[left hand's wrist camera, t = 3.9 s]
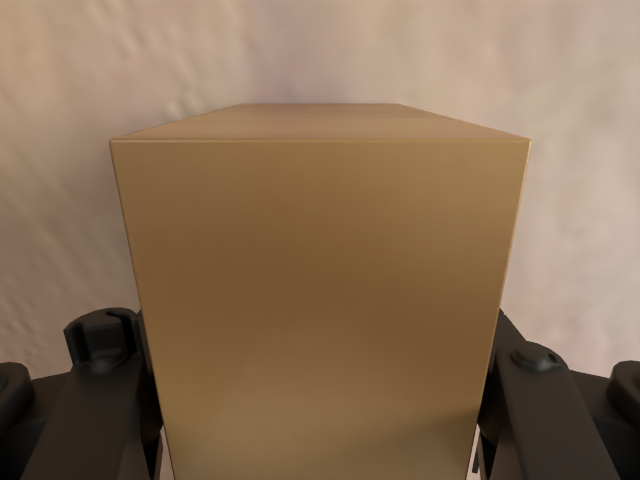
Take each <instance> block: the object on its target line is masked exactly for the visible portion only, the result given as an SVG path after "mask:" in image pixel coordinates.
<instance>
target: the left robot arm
mask: <svg viewBox="0 0 640 480" xmlns="http://www.w3.org/2000/svg"><path fill="white" fill-rule="evenodd" d="M63 331H64V335H65V338H66V342H67V345H68V349H69V352H70V356H71V359H72V363H73V367H72V369H71V371H70V372H67V373H63V374H58V375H53V376H48V377H43V378H38V379H33V380H31V378H30V375H29V372H28V369H27V368H26V367H25V366H24V365H22V364H21V363H13V362H7V363H0V480H159V478H160V470H161V461H162V452H163V444H162V438H161V433H160V430H161V428H162V426H163V419H162V414H161V408H160V403H159V398H158V393H157V388H156V383H155V378H154V373H153V367H152V362H151V357H150V352H149V347H148V342H147V337H146V331H145V326H144V321H143V316H142V311H141V309H140V311H139V312H138V313H137V314H136V313H135V312H133V311H132V310H130V309H126V308H106V309H101V310H97V311H93V312H90V313H88V314H85V315H83V316H81V317H79V318H77V319H76V320H74V321H72V322H71V323H70V324H69V325H68V326H67V327H66V328H65V329H64V330H63ZM477 423H478V426H479V428H480V433H479V438H478V443H477V448H476V453H475V458H474V463H473V469H472V472H473V473H478V468H479V469H480V477H481V480H640V361H632V360H630V361H622V362H619V363H618V364H616V365H615V366H614V367H613V370H612V373H611V376H610V378H606V377H601V376H596V375H591V374H586V373H581V372H576V371H573V370H569V368H568V366H567V364H566V363H565V362H564V360H563V359H562V358H561V357H560V356H559V355H558V354H556V353H555V352H553V351H552V350H551V349H549V348H547V347H544V346H542V345H540V344H538V343H534V342H529V341H526V340H525V339H524V337H523V336H522V335H521V334H520V332H519V331H518V330H517V329H516V327H515V326H514V325H513V324H512V322H511V321H510V320H509V319H508V317H507V316H506V315H504V312H503V311H502V310H501V309H500V308H499V313H498V318H497V323H496V329H495V334H494V339H493V344H492V349H491V354H490V359H489V364H488V370H487V375H486V380H485V385H484V390H483V395H482V400H481V405H480V411H479V416H478V421H477Z"/></svg>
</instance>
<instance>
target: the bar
mask: <svg viewBox="0 0 640 480" xmlns="http://www.w3.org/2000/svg"><path fill="white" fill-rule="evenodd" d="M531 144H532V142H531V140H530V139H528V138H525V137H521V136H517V135H513V134H510V133H506V132H502V131H498V130H495V129H491V128H487V127H483V126H480V125H476V124H472V123H468V122H465V121H461V120H457V119H453V118H450V117H446V116H442V115H438V114H434V113H431V112H427V111H423V110H419V109H416V108H412V107H408V106H404V105H401V104H240V105H236V106H232V107H228V108H225V109H221V110H217V111H213V112H210V113H206V114H202V115H198V116H195V117H191V118H187V119H183V120H180V121H176V122H172V123H168V124H165V125H161V126H157V127H153V128H150V129H146V130H142V131H138V132H135V133H131V134H127V135H123V136H120V137H116V138H112V139H110V140H109V146H110V152H111V157H112V162H113V167H114V172H115V177H116V182H117V188H118V193H119V198H120V203H121V208H122V213H123V218H124V224H125V229H126V234H127V239H128V244H129V249H130V254H131V259H132V265H133V270H134V275H135V280H136V285H137V290H138V295H139V301H140V306H141V311H142V316H143V321H144V326H145V331H146V337H147V342H148V347H149V352H150V357H151V362H152V367H153V373H154V378H155V383H156V388H157V393H158V398H159V403H160V408H161V414H162V419H163V424H164V429H165V434H166V439H167V444H168V450H169V455H170V460H171V465H172V470H173V475H174V480H466V477H467V472H468V467H469V462H470V457H471V452H472V446H473V441H474V436H475V431H476V426H477V421H478V416H479V411H480V405H481V400H482V395H483V390H484V385H485V380H486V375H487V370H488V364H489V359H490V354H491V349H492V344H493V339H494V334H495V329H496V323H497V318H498V313H499V308H500V303H501V298H502V293H503V288H504V282H505V277H506V272H507V267H508V262H509V257H510V252H511V247H512V241H513V236H514V231H515V226H516V221H517V216H518V211H519V206H520V200H521V195H522V190H523V185H524V180H525V175H526V170H527V165H528V159H529V154H530V149H531Z"/></svg>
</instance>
